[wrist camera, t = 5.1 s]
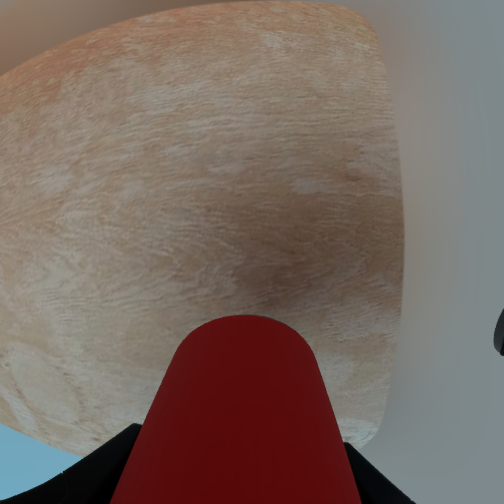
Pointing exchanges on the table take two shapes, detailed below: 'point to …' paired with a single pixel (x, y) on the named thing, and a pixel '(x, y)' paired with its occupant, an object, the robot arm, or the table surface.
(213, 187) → the table surface
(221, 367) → the beverage can
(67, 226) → the table surface
